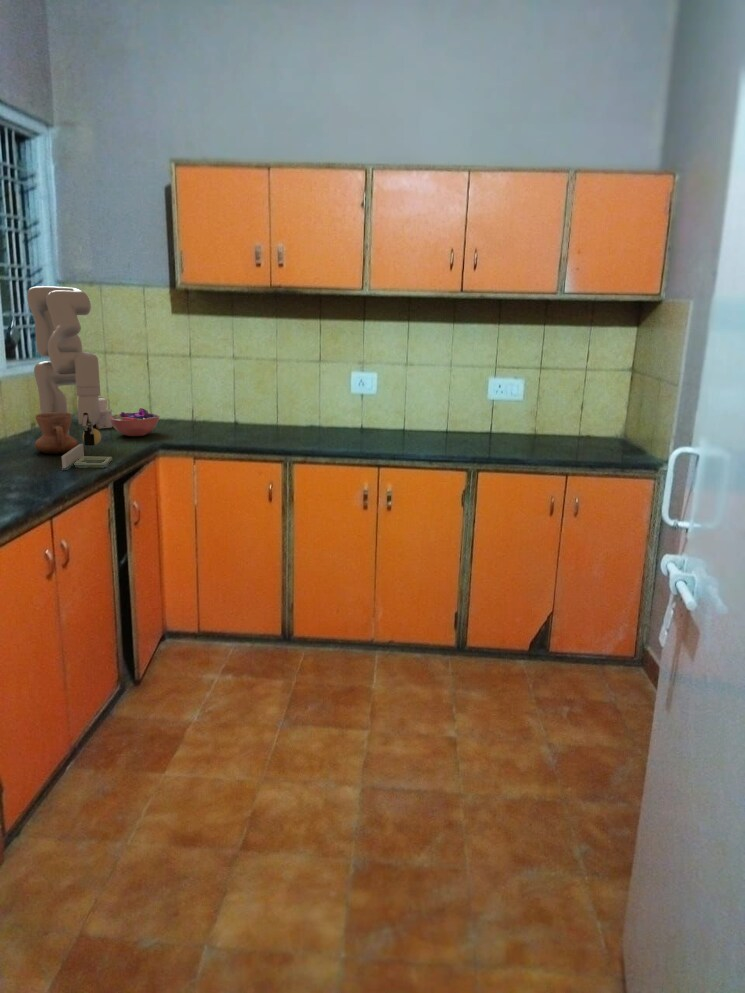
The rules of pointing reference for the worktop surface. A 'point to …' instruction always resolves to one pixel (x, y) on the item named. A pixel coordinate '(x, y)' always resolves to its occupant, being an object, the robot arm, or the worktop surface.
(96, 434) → the ball
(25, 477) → the worktop surface
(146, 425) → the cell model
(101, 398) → the container
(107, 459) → the tray
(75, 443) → the ceramic jug
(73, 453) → the wall
